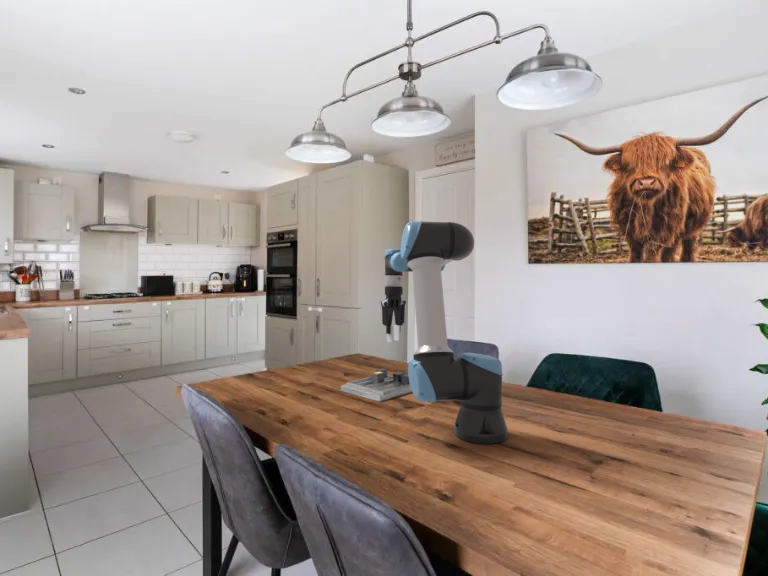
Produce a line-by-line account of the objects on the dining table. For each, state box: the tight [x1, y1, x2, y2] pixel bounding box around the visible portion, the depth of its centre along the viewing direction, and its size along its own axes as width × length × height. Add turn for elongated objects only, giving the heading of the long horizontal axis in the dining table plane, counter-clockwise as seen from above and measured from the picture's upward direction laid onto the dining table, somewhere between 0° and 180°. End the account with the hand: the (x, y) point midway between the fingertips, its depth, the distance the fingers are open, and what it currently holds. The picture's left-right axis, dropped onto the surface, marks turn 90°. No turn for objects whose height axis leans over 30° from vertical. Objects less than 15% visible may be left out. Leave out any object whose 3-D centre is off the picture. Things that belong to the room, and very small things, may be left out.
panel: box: [340, 367, 413, 402], centre depth 175 cm, size 26×22×6 cm
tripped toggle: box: [371, 371, 384, 384], centre depth 177 cm, size 4×3×4 cm
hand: (393, 340), depth 183 cm, fingers open, 4 cm apart
